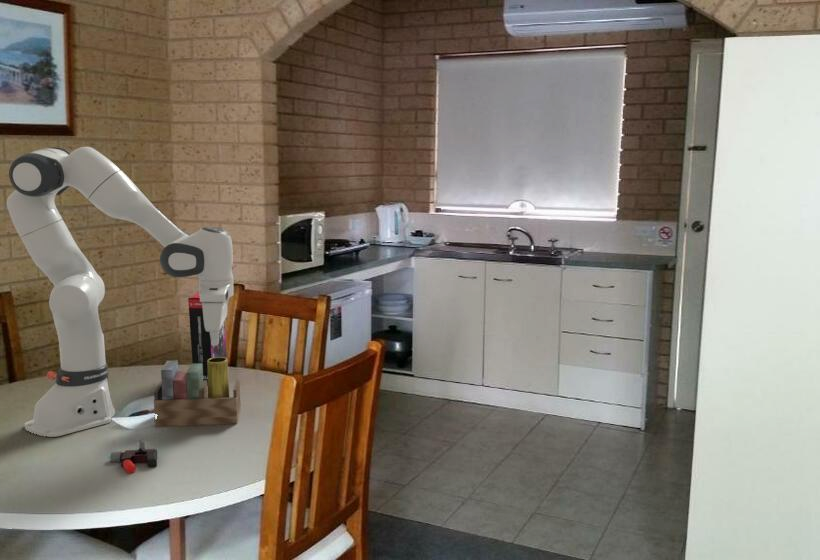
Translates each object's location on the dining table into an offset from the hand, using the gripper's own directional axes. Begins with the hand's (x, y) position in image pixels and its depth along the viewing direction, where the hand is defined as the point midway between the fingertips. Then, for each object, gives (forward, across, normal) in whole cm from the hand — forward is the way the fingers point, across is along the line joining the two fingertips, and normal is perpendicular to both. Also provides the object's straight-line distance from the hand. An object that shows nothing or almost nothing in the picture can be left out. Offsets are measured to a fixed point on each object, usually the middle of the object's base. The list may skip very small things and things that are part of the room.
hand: (217, 340), depth 202 cm
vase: (+20, +1, 0) cm, 20 cm away
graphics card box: (+22, -38, -7) cm, 45 cm away
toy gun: (+22, +30, -16) cm, 40 cm away
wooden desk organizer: (+22, 0, -5) cm, 22 cm away
